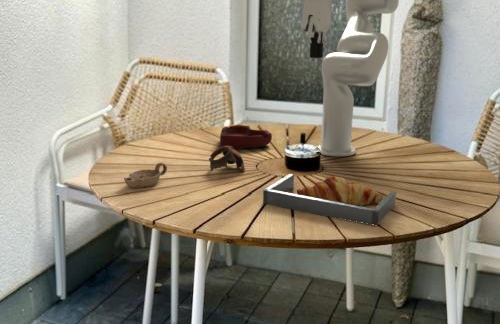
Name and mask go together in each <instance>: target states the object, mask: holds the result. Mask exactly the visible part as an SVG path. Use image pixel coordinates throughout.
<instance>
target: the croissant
mask: <svg viewBox="0 0 500 324" xmlns="http://www.w3.org/2000/svg"><path fill="white" fill-rule="evenodd" d="M296 194H297V195H302V196H308V197H313V198H318V199H323V200H329V201H334V202H339V203H345V204H350V205H355V206H358V205H359V206H360V207H364V206H367V205H369V204H371V205H375V204H379V203H380V202H381V201H382V200H383V199H384V195H383V194H382V193H380V192H378V191H377V190H375V189H374V188H372V187H371V188H368V187H367V186H365V185H362V183H360V181H355V182H354V181H350V182H349V181H348V180H346V179H345V177H344V178H343V177H342V176H341V177H340V176H327V177H326V178H324V180H323V181H318V182H316V183H315V184H314V185H313V186H311V185H309V186H305V187H303V188H298V189H296Z"/></svg>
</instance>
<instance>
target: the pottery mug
mask: <svg viewBox="0 0 500 324" xmlns="http://www.w3.org/2000/svg"><path fill="white" fill-rule="evenodd" d="M220 154H222V155H223V156H221V157H219V158H217V159H216V157H218V156H219V155H220ZM208 161H209V164H210V165H209V167H210V170H211V171H214V170H217V169H221V168H223V167H224V168H228V165H233V164H235V165H236V168H238V169H239V168H241V171H242V173H245V172H246V168H245V163H244V159H243V157H242V155H241V154H240V152H239V151H237V149H234V148H233V147H232V146H223V147H221V146H220V147H218V148H216V149H215V150H214V151H213V152H212V153H211V154H210V156H209V158H208Z"/></svg>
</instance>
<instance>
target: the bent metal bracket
mask: <svg viewBox="0 0 500 324" xmlns="http://www.w3.org/2000/svg"><path fill="white" fill-rule="evenodd" d="M294 179H295V174H293V173H289V174H287V175H285V176H284V177H282V178H281V179H279V180H277V181H276V182H273V183H272V184H271V185H269V186H267V187H266V188H264V189H263V190H262V191H263V192H262V193H263V194H262V195H263V197H262V204H263V205H268V206H274V207H279V208H283V209H289V210H293V211H297V212H298V211H299V212H303V213H308V212H309V214H312V213H314V214H313V215H317V214H319V215H318V216H322V215H325V216H324V217H327V216H330V217H329V218H332V217H336V218H335V219H337V218H342V219H346V220H345V221H347V220H351V221H350V222H352V221H355V222H354V223H357V222H363V223H368V224H374V225H377V224H378V223H379V222H380V221H381V219H382V218H383V217H384V216H385V215H386V214H387V213H388V212H389V211H390V210H391V211H392V209H393V208H394V207H396V200H397V199H396V198H397V192H396V191H390V192H389V193H388V194H387V195H386V196H385V197H383V199H382V201H381V202H378V203H377V205H376V206H375V208H370V207H366V206H365V207H364V206H355V205H350V204H345V203H339V202H334V201H329V200H323V199H318V198H313V197H308V196H302V195H297V193H291V192H289V191H290V190H291V189H293V188H294V183H295V182H294V181H295V180H294ZM391 211H390V212H391ZM390 212H389V213H390ZM389 213H388V214H389ZM388 214H387V215H388ZM387 215H386V216H387ZM386 216H385V217H386ZM385 217H384V218H385ZM384 218H383V219H384ZM342 219H341V220H342ZM356 221H357V222H356ZM381 222H382V221H381ZM381 222H380V223H381ZM380 223H379V224H380ZM379 224H378V225H379ZM378 225H377V226H378Z"/></svg>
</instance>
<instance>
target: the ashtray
mask: <svg viewBox="0 0 500 324" xmlns="http://www.w3.org/2000/svg"><path fill="white" fill-rule="evenodd" d="M272 136H273V134H272V133H271V132H270V131H268V130H265V129H264V130H263V129H253V128H252V129H251V127H250V125H243V124H235V125H230V126H224V127H222V128H221V131H220V139H219V142H220V147H223V146H232V147H233V148H234V150H237V149H250V148H253V149H255V148H260V149H261V148H263V149H264V148H266V147H267V146H268V145H269V144H270V143H271V141H272V139H273V137H272Z"/></svg>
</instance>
